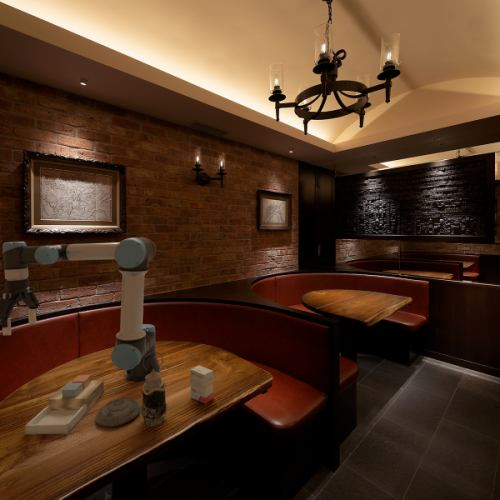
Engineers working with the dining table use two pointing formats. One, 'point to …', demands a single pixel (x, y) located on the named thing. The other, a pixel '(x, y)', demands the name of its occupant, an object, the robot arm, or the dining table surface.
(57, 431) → the tray
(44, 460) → the dining table surface
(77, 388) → the slate gray square block
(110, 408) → the flying saucer
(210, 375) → the ink box
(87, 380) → the salmon orange square block
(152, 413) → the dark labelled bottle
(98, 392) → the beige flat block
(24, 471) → the dining table surface
